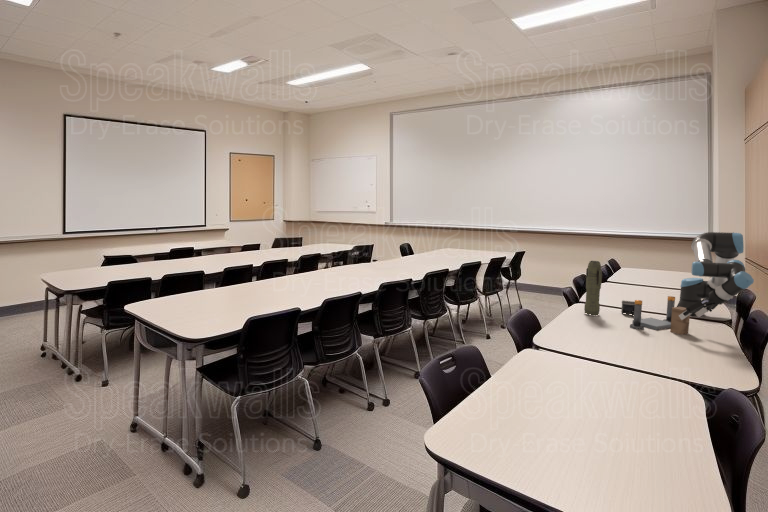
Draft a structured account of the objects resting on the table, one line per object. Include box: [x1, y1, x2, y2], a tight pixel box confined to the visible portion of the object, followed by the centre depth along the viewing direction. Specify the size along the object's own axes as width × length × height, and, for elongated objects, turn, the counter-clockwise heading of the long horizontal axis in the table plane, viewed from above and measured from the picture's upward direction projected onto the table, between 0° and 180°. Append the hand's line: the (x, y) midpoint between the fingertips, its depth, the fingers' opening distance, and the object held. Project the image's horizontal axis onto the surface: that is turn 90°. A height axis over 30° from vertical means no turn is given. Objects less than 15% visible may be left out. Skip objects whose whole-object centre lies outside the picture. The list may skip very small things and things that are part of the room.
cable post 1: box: [629, 299, 645, 330], centre depth 253 cm, size 7×7×16 cm
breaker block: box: [669, 306, 691, 336], centre depth 243 cm, size 6×7×14 cm
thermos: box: [583, 260, 603, 315], centre depth 282 cm, size 9×12×35 cm
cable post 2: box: [662, 295, 676, 322], centre depth 263 cm, size 7×7×16 cm
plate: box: [632, 317, 671, 331], centre depth 259 cm, size 16×15×2 cm
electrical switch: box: [620, 299, 635, 316], centre depth 283 cm, size 9×5×9 cm, turn 57°
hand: (688, 316), depth 237 cm, fingers open, 13 cm apart
